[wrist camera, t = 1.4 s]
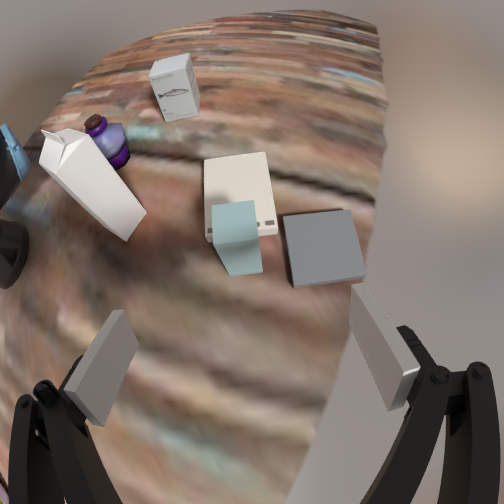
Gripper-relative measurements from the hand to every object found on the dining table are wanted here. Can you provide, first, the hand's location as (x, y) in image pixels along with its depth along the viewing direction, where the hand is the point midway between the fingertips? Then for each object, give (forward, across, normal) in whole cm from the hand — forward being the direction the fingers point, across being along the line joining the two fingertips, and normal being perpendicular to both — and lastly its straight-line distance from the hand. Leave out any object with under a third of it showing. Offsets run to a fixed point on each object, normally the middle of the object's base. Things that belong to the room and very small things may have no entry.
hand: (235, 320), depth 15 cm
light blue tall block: (+22, -1, -6) cm, 23 cm away
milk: (+29, -20, 0) cm, 35 cm away
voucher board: (+29, -1, +1) cm, 29 cm away
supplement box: (+47, -11, +19) cm, 52 cm away
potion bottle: (+39, -24, +11) cm, 47 cm away
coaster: (+22, +10, -6) cm, 25 cm away
